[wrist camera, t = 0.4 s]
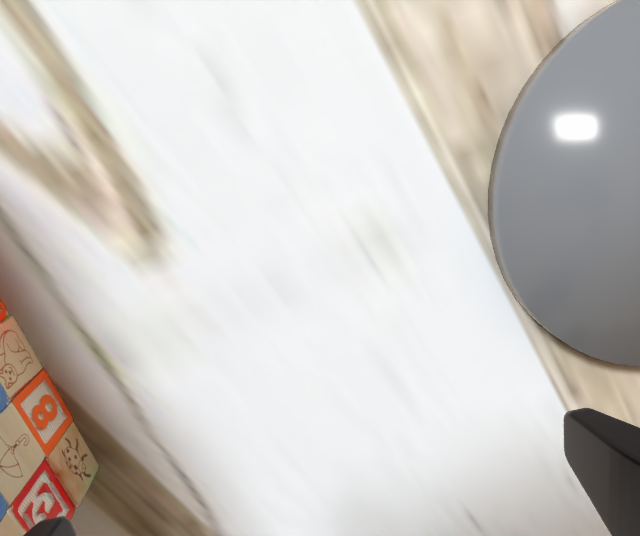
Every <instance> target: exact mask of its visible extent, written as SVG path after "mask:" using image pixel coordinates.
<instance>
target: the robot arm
mask: <svg viewBox="0 0 640 536" xmlns="http://www.w3.org/2000/svg"><path fill="white" fill-rule="evenodd" d="M564 451H565V455H566V458H567V461H568V463H569V465H570V466H571V468H572V470H573V471H574V473H575V475H576V476H577V478H578V480H579V481H580V483H581V485H582V486H583V488H584V490H585V491H586V493H587V495H588V496H589V498H590V500H591V502H592V503H593V505H594V507H595V508H596V510H597V512H598V513H599V515H600V517H601V518H602V520H603V522H604V523H605V525H606V527H607V528H608V530H609V532H610V533H611V535H612V536H640V428H639V427H636V426H634V425H631V424H628V423H626V422H623V421H621V420H618V419H616V418H613V417H611V416H608V415H606V414H603V413H601V412H598V411H596V410H593V409H590V408H582V409H578V410H573V411H568V412H567V413H566V414H565V416H564ZM23 536H76V533H75V531H74V529H73V526H72V524H71V522H70V520H69V519H68V518H67V517H65V516H59V517H54V518H49V519H44V520H42V521H40V522H38V523H37V524H36V525H35V526H33V527H32V528H31V529H30V530H29V531H28V532H27V533H25V534H24V535H23Z"/></svg>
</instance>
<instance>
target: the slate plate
mask: <svg viewBox="0 0 640 536" xmlns="http://www.w3.org/2000/svg"><path fill="white" fill-rule="evenodd" d="M488 219H489V228H490V237H491V241H492V245H493V249H494V253H495V257H496V261H497V263H498V265H499V268H500V270H501V273H502V275H503V278H504V280H505V282H506V283H507V285H508V287H509V288H510V290H511V292H512V294H513V295H514V297H515V299H516V300H517V301H518V302H519V303H520V305H521V306H522V307H523V308H524V310H525V311H526V312H527V313H528V314H529V315H530V316H531V317H532V318H533V319H534V320H535V321H536V322H537V323H538V324H540V325H541V326H542V327H543V328H544V329H546V330H547V331H548V332H550V333H551V334H553V335H554V336H555V337H557V338H558V339H560V340H561V341H563V342H564V343H566V344H567V345H569V346H570V347H572V348H574V349H576V350H578V351H580V352H582V353H584V354H586V355H588V356H591V357H593V358H596V359H600V360H603V361H606V362H610V363H613V364H620V365H626V366H633V367H640V0H618V1H616V2H614V3H612V4H610V5H608V6H606V7H605V8H603V9H601V10H600V11H598V12H597V13H595V14H594V15H592V16H591V17H590V18H588V19H587V20H585V21H584V22H582V23H581V24H579V25H578V26H577V27H576V28H575V29H574V30H573V31H571V32H570V33H569V34H568V35H567V36H566V37H565V38H564V39H562V40H561V41H560V42H559V43H558V44H557V45H556V46H555V47H554V48H553V50H552V51H551V52H550V53H549V54H548V55H547V56H546V57H545V59H544V60H543V61H542V62H541V63H540V64H539V65H538V67H537V68H536V70H535V71H534V72H533V74H532V75H531V77H530V78H529V80H528V81H527V82H526V84H525V85H524V87H523V88H522V90H521V92H520V94H519V96H518V97H517V99H516V101H515V103H514V105H513V107H512V108H511V110H510V112H509V114H508V117H507V119H506V122H505V124H504V127H503V129H502V132H501V134H500V137H499V140H498V144H497V147H496V151H495V155H494V158H493V162H492V167H491V174H490V182H489V189H488Z"/></svg>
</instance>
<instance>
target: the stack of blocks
mask: <svg viewBox="0 0 640 536" xmlns="http://www.w3.org/2000/svg"><path fill="white" fill-rule="evenodd" d="M98 469H99V465H98V463H97V462H96V460H95V458H94V457H93V455H92V453H91V451H90V450H89V448H88V446H87V445H86V443H85V441H84V439H83V438H82V436H81V434H80V432H79V431H78V429H77V427H76V426H75V424H74V422H73V418H72V416H71V414H70V412H69V411H68V409H67V407H66V405H65V404H64V402H63V400H62V399H61V397H60V395H59V393H58V392H57V390H56V388H55V387H54V385H53V383H52V382H51V380H50V378H49V376H48V375H47V373H46V371H45V370H44V369H43V367H42V365H41V363H40V361H39V359H38V357H37V355H36V354H35V352H34V350H33V348H32V347H31V345H30V344H29V342H28V340H27V338H26V337H25V335H24V333H23V332H22V330H21V328H20V327H19V325H18V323H17V321H16V320H15V319H14V317H13V316H11V315H10V314H9V313H8V312H7V310H6V308H5V306H4V304H3V303H2V301H1V300H0V536H23V535H24V534H25V533H27V532H28V531H29V530H30V529H31V528H32V527H33V526H35V525H36V524H37V523H38V522H40V521H42V520H44V519H49V518H54V517H59V516H65V517H67V518H68V519H69V520H71V518H72V516H73V514H74V511H75V509H76V508H77V507H79V505H80V503H81V502H82V500H83V498H84V496H85V494H86V492H87V491H88V489H89V487H90V485H91V483H92V481H93V479H94V477H95V475H96V473H97V471H98Z"/></svg>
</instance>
